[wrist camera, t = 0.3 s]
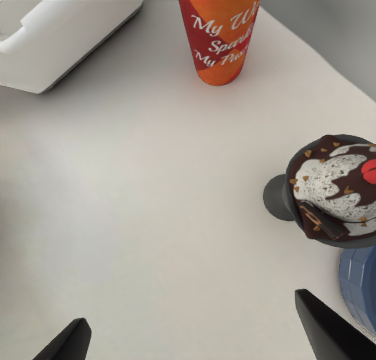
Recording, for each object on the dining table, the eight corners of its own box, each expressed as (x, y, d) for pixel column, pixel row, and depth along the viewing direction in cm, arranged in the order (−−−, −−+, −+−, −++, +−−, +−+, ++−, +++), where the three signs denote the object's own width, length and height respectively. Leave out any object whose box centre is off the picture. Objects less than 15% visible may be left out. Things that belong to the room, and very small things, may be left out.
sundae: (313, 161, 22) (507, 69, 7) (327, 224, 21) (586, 268, 6) (250, 170, 23) (309, 105, 8) (261, 232, 22) (351, 287, 7)
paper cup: (203, 105, 24) (184, -24, 11) (177, 54, 26) (132, -120, 12) (264, 75, 24) (328, -103, 10) (235, 24, 25) (256, -195, 11)
